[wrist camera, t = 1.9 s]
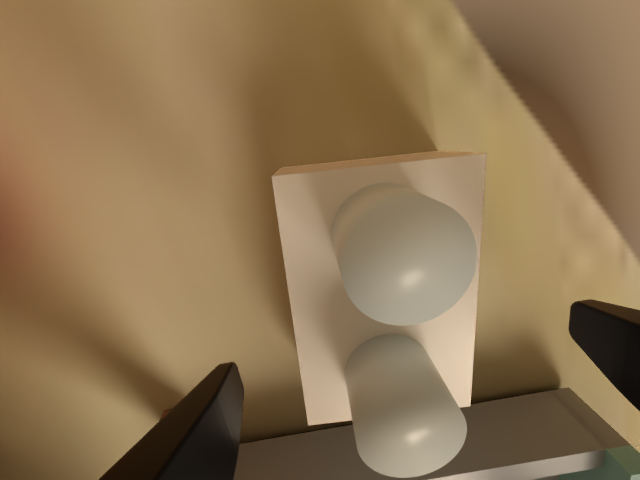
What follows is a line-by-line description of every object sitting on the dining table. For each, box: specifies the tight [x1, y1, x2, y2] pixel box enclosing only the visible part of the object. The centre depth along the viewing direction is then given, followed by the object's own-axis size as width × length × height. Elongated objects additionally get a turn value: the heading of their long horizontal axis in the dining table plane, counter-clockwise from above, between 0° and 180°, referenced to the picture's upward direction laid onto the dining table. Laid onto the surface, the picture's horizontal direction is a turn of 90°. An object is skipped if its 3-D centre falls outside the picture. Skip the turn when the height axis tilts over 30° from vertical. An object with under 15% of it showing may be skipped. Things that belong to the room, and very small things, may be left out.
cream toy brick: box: [271, 151, 486, 478], centre depth 10 cm, size 6×9×6 cm, turn 5°
